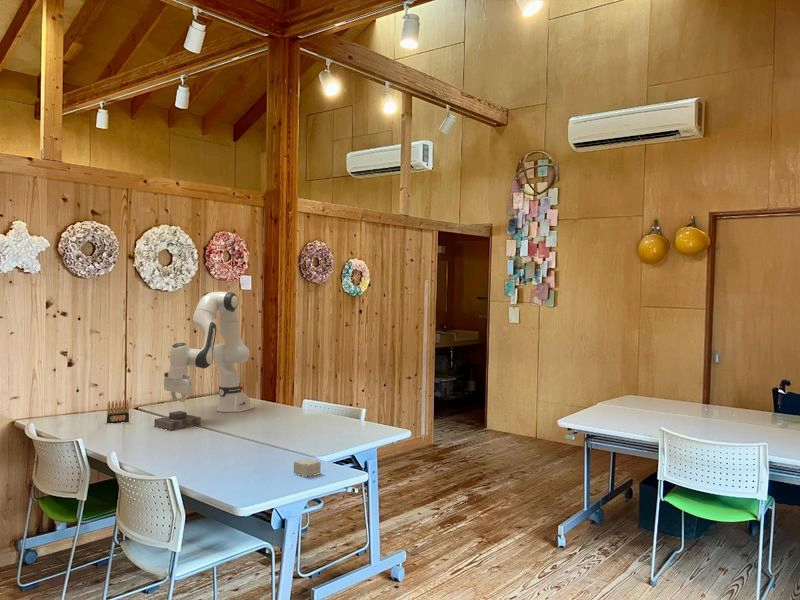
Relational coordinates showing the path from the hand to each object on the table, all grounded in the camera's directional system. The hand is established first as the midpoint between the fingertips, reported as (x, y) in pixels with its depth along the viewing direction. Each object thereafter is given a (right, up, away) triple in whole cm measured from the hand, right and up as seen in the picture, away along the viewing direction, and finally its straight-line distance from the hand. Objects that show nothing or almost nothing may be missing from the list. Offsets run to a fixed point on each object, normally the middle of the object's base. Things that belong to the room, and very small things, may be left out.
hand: (178, 401), depth 328 cm
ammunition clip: (-33, -12, +4) cm, 36 cm away
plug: (0, -12, 0) cm, 12 cm away
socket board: (0, -13, 0) cm, 13 cm away
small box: (+78, -17, -75) cm, 110 cm away
